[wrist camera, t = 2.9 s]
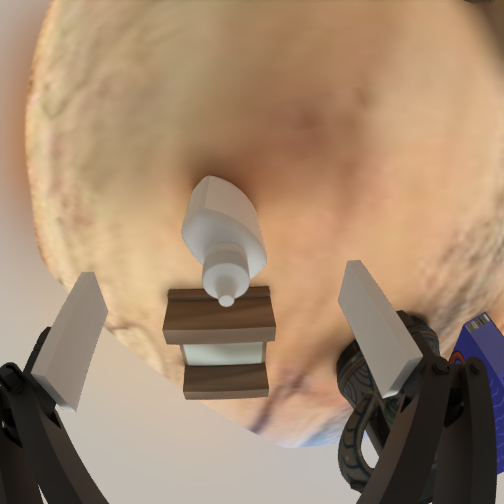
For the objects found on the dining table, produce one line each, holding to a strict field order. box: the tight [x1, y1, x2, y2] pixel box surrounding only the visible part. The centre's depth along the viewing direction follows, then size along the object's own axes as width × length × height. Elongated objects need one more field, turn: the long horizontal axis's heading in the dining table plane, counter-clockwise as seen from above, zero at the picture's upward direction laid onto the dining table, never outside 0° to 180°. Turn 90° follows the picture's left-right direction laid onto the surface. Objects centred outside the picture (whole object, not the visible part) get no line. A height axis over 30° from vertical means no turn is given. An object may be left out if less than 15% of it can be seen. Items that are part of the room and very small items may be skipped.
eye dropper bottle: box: [181, 175, 267, 307], centre depth 18 cm, size 4×6×12 cm
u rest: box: [163, 287, 276, 400], centre depth 29 cm, size 14×10×5 cm
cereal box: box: [448, 312, 504, 474], centre depth 30 cm, size 22×6×30 cm, turn 17°
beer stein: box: [337, 316, 441, 504], centre depth 27 cm, size 16×19×25 cm
